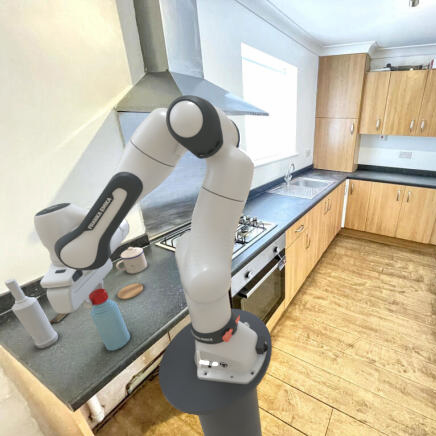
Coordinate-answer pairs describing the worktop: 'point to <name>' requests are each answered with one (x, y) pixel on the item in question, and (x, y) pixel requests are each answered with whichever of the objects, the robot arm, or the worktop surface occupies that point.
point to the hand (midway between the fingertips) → (95, 300)
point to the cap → (98, 296)
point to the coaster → (130, 291)
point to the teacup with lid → (133, 260)
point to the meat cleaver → (58, 318)
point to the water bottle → (110, 324)
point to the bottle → (32, 316)
